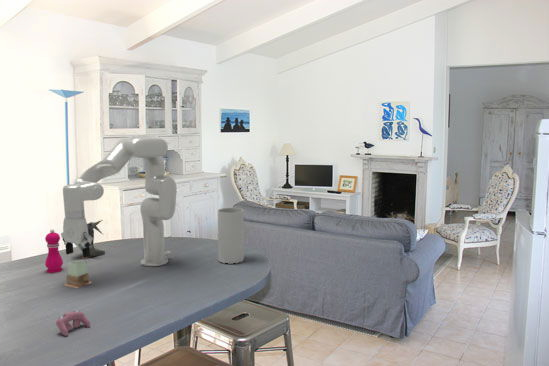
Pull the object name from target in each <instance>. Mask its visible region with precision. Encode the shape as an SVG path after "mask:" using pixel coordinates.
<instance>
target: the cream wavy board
mask: <svg viewBox="0 0 549 366" xmlns="http://www.w3.org/2000/svg"><path fill="white" fill-rule="evenodd" d="M92 283H93V281H89V283H86V284H84V285H81V286H78V287H75V286H71V285H67V283H64V284H63V286H66V287H70V288H74V289H79V288H81V287H84V286H87V285H89V284H92Z"/></svg>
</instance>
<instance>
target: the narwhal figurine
mask: <svg viewBox="0 0 549 366" xmlns="http://www.w3.org/2000/svg"><path fill="white" fill-rule="evenodd" d="M102 221H103V219H101V220H98V221H95V222H92V221H91V222H89V223H88V222H87V227H88V234H89V235H90V236H91V237H92V238H93V240H92V244H91V245H90V247H89V249H90V256H88V257H85V258H87V259H88V258H89V259H90V258H91V257H97V256H102V255H105V254H106V253H105V252H106V251H105V250H102V249H99V248H95V246H94V240H95V230H96V231H97V232H98V233H100V234H101V235H104V233H103V232H102V231H101V229H100V228H98V226H97V225H99V224H100V223H102ZM94 229H95V230H94ZM73 244H74V245H75V246H76V247H77V248H78V250H79V251H80V252H82V248H83V246H82V245H81V243H80V244H76V243H73ZM84 244H86V243H84ZM81 254H82V256H81V257H82V259H85V258H83V253H81Z"/></svg>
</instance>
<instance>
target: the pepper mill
mask: <svg viewBox="0 0 549 366" xmlns="http://www.w3.org/2000/svg"><path fill="white" fill-rule="evenodd" d="M44 240H45V242H46V243H47V244H46V247H47V252H48V254H47V256H46V259H45V263H44V264H45V265H44V266H45V267H46V268H47V269H46V273H49V274H56V273H59V272H62V271H63V268H62V266H63V265H64V261H63V258H62V256H61V254H60V252H59V251H60V250H59V247H60V240H61V235H60V234H59V233H57V232H55V229H50V231H49V233H47V234H46V235H45V238H44Z"/></svg>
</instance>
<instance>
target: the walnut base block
mask: <svg viewBox="0 0 549 366" xmlns="http://www.w3.org/2000/svg"><path fill="white" fill-rule="evenodd" d="M89 282H90V277H89V272H87V274H84V275H81V276H78V277H75V276H71V275H69V274H68V273H67V274H66V284H67V285H71V286H75V287H78V286H81V285H84V284H86V283H89ZM84 286H85V285H84Z"/></svg>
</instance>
